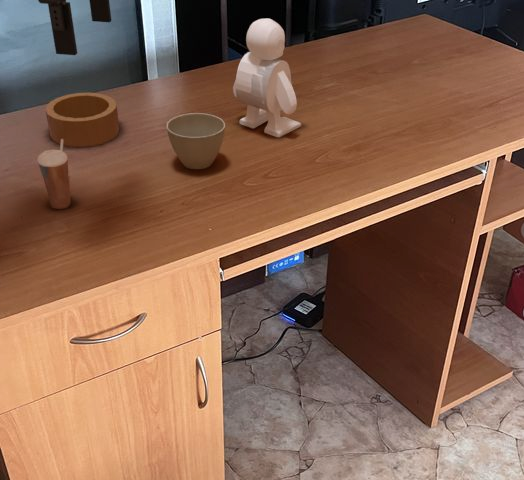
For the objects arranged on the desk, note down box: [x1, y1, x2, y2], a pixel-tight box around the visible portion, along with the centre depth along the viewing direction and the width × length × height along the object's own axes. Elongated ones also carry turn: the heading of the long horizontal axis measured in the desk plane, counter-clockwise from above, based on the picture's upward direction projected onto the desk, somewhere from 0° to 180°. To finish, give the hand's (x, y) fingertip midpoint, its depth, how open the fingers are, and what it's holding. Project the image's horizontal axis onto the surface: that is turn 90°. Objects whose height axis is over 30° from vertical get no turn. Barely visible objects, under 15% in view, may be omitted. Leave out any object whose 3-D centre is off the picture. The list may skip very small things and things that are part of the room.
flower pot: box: [165, 112, 226, 170], centre depth 136 cm, size 10×10×7 cm
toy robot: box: [232, 18, 302, 138], centre depth 143 cm, size 14×9×20 cm, turn 51°
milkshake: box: [36, 139, 72, 210], centre depth 124 cm, size 4×5×10 cm
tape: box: [44, 92, 120, 148], centre depth 146 cm, size 13×13×5 cm
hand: (85, 36), depth 110 cm, fingers open, 13 cm apart
